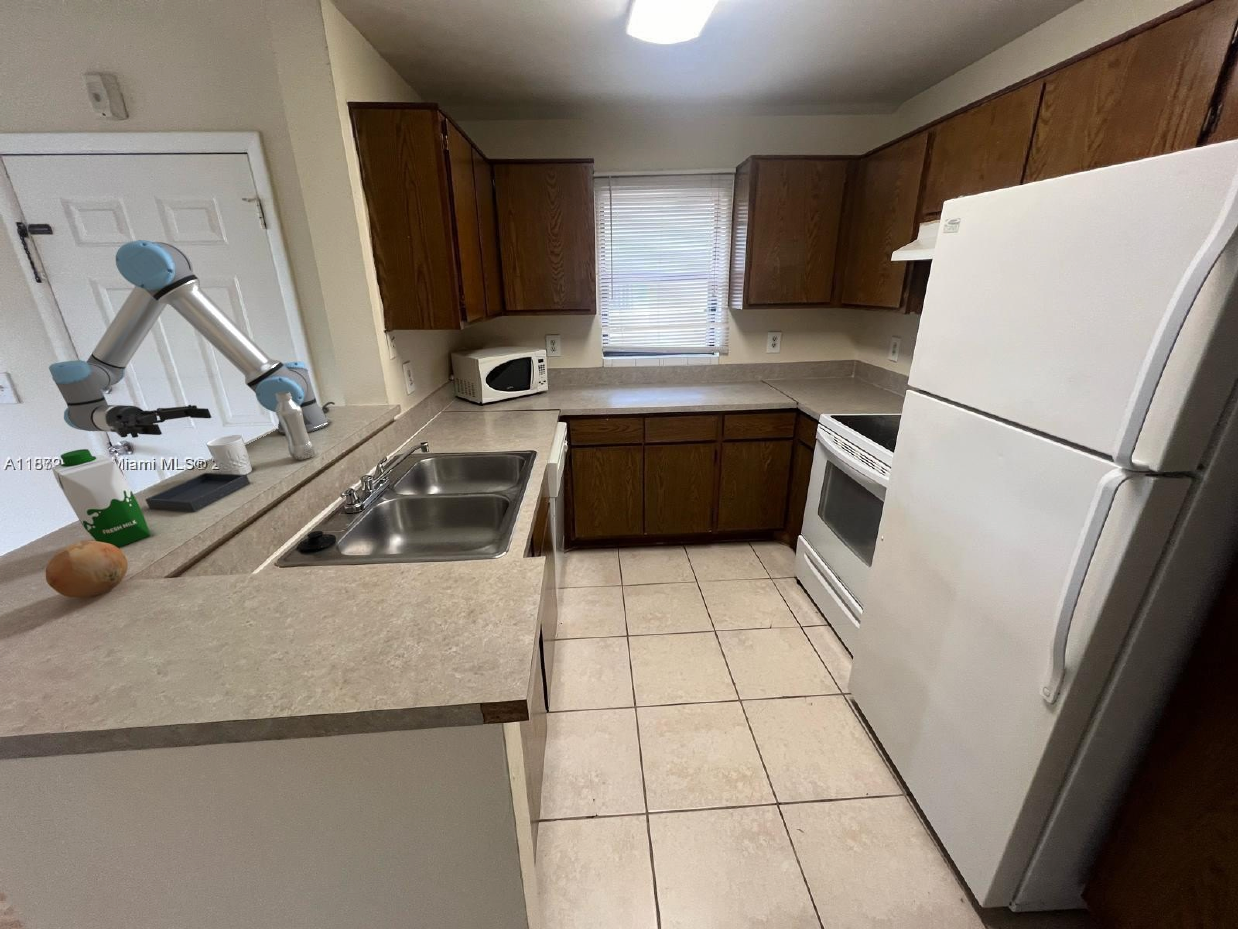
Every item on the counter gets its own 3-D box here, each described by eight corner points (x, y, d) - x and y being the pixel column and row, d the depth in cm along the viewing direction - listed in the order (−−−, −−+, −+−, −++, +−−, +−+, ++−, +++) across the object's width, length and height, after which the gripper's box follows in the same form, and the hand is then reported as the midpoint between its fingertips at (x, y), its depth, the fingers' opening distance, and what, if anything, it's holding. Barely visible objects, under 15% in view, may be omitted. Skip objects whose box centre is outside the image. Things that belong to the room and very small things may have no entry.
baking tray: (209, 481, 128) (205, 472, 127) (250, 483, 126) (246, 474, 125) (149, 508, 115) (144, 499, 114) (194, 511, 113) (190, 502, 112)
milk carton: (143, 524, 108) (101, 443, 100) (158, 535, 103) (114, 451, 95) (90, 543, 101) (39, 458, 93) (103, 555, 97) (51, 467, 88)
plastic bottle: (294, 464, 137) (270, 397, 129) (290, 457, 142) (267, 393, 134) (319, 457, 141) (298, 392, 133) (314, 451, 146) (293, 388, 138)
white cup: (241, 479, 129) (227, 445, 125) (213, 479, 129) (198, 445, 125) (261, 467, 136) (249, 434, 132) (235, 467, 136) (221, 435, 132)
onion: (98, 576, 90) (71, 531, 86) (152, 572, 91) (128, 528, 86) (45, 611, 81) (12, 563, 77) (104, 607, 82) (75, 559, 78)
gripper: (173, 417, 145) (231, 419, 141) (74, 447, 122) (141, 451, 119) (162, 393, 141) (222, 395, 138) (60, 420, 119) (127, 423, 116)
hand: (184, 421), depth 128 cm, fingers open, 13 cm apart
